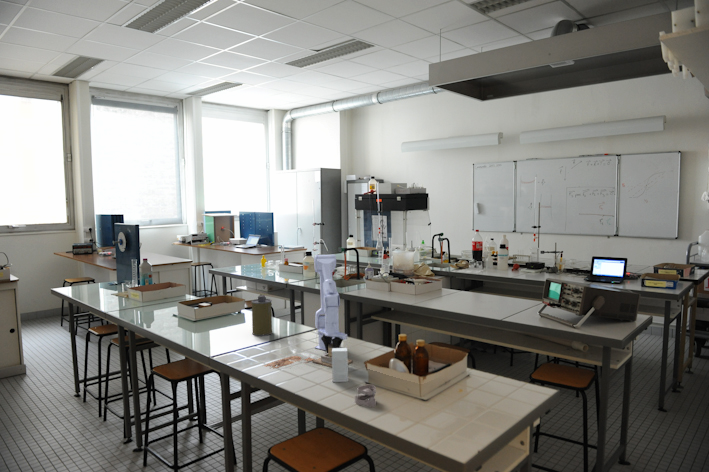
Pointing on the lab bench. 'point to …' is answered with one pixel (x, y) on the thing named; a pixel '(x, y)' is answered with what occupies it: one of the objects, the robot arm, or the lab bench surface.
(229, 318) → the lab bench surface
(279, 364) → the bark
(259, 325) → the canister
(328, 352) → the wood peg
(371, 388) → the dental mold
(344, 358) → the skincare box
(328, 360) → the holder board
